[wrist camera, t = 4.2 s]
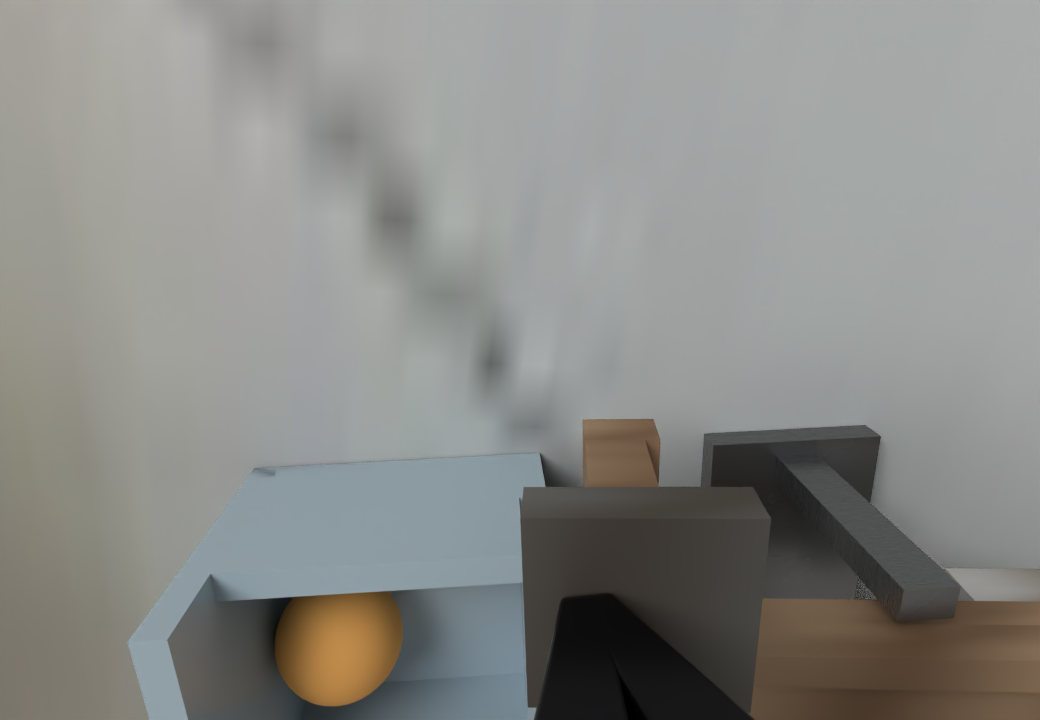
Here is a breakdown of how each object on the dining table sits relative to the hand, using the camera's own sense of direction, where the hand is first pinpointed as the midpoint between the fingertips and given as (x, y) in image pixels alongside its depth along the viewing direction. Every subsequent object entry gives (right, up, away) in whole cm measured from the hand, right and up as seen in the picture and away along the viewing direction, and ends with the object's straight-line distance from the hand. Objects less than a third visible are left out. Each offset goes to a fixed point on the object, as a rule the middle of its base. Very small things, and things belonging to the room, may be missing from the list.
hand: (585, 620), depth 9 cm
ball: (-6, -4, +9) cm, 12 cm away
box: (-4, -3, +12) cm, 13 cm away
